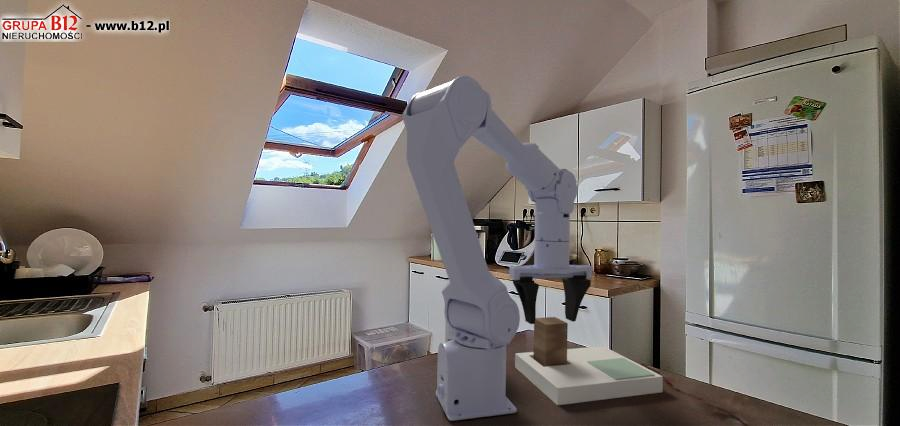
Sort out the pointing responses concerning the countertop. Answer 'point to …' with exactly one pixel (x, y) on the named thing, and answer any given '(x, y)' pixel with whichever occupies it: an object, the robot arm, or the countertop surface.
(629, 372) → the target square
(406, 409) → the countertop surface
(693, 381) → the countertop surface
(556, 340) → the walnut block
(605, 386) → the board
